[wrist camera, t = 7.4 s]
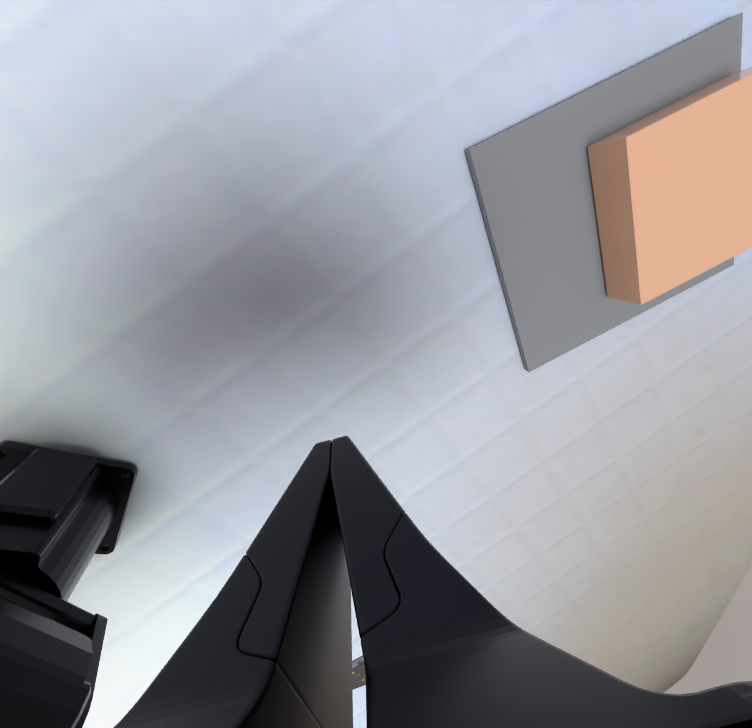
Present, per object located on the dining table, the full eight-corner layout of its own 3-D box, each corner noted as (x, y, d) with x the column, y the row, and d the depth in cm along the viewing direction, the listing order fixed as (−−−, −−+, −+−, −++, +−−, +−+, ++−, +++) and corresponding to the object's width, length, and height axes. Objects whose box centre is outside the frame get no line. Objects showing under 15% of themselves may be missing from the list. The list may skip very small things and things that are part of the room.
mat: (524, 368, 24) (529, 371, 24) (464, 150, 18) (469, 148, 18) (725, 263, 25) (733, 264, 24) (731, 17, 19) (742, 12, 18)
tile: (641, 305, 21) (773, 235, 21) (625, 137, 17) (788, 55, 17) (605, 296, 23) (725, 234, 23) (585, 146, 19) (729, 74, 19)
